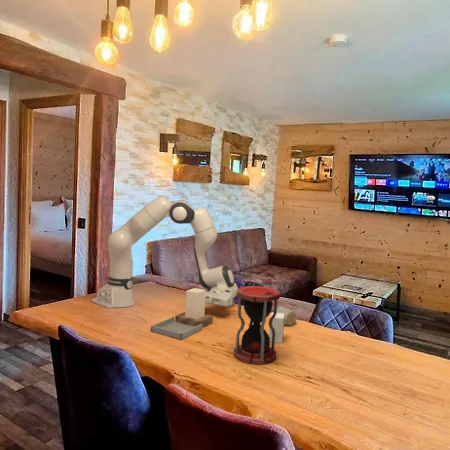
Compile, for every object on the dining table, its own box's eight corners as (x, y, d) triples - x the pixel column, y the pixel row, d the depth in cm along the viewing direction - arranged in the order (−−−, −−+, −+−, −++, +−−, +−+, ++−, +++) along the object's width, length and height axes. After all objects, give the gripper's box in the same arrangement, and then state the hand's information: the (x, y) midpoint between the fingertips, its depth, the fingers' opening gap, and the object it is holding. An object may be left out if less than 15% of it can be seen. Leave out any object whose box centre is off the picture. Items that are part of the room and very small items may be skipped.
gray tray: (150, 331, 177) (150, 325, 177) (172, 322, 191) (172, 316, 190) (181, 340, 169) (181, 334, 169) (202, 329, 183) (202, 324, 183)
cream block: (185, 316, 190) (186, 290, 189) (193, 313, 196) (194, 287, 195) (196, 319, 187) (197, 293, 186) (204, 315, 193) (205, 290, 192)
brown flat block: (175, 322, 190) (175, 316, 190) (187, 317, 199) (187, 310, 199) (200, 328, 184) (201, 322, 183) (212, 323, 192) (212, 316, 192)
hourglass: (240, 366, 148) (245, 297, 146) (228, 348, 163) (232, 285, 161) (283, 363, 152) (287, 296, 150) (267, 346, 168) (271, 285, 165)
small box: (282, 343, 172) (283, 318, 171) (268, 341, 173) (270, 317, 172) (283, 336, 179) (285, 313, 178) (270, 335, 180) (272, 311, 179)
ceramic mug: (286, 327, 191) (288, 311, 191) (272, 323, 197) (274, 307, 196) (300, 323, 199) (301, 308, 198) (286, 319, 204) (287, 303, 204)
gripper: (200, 285, 214) (184, 291, 201) (235, 292, 204) (221, 298, 192) (199, 297, 214) (184, 303, 202) (235, 305, 204) (220, 312, 192)
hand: (202, 301), depth 197 cm, fingers closed
